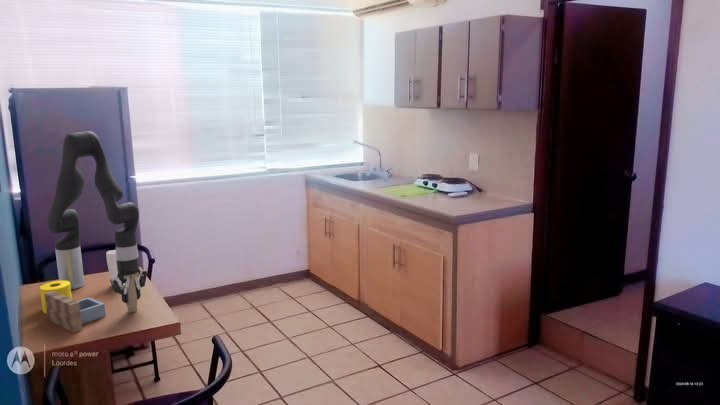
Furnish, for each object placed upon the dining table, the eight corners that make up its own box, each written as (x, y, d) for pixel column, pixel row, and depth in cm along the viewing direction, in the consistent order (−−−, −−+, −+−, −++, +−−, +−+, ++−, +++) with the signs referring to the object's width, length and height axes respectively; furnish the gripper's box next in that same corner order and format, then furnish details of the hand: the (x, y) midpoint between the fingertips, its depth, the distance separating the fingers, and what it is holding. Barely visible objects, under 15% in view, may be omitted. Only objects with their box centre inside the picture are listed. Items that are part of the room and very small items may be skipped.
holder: (60, 319, 190) (59, 306, 189) (90, 309, 198) (89, 297, 197) (75, 326, 184) (74, 313, 183) (105, 316, 192) (104, 303, 191)
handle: (121, 311, 196) (118, 273, 193) (139, 307, 200) (136, 269, 197) (125, 315, 192) (121, 276, 189) (143, 311, 196) (139, 273, 193)
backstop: (47, 319, 189) (44, 293, 187) (56, 316, 192) (53, 290, 190) (73, 332, 178) (70, 305, 176) (82, 329, 181) (79, 302, 179)
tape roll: (43, 315, 192) (39, 291, 191) (42, 306, 201) (39, 283, 199) (73, 310, 198) (70, 286, 196) (72, 301, 206) (69, 278, 204)
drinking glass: (106, 286, 222) (102, 252, 219) (119, 281, 228) (116, 248, 225) (116, 289, 219) (113, 254, 216) (130, 284, 225) (127, 250, 222)
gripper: (139, 250, 200) (143, 293, 203) (103, 259, 188) (107, 304, 192) (150, 253, 195) (154, 297, 199) (114, 263, 184) (118, 309, 187)
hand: (131, 300), depth 195 cm, fingers closed on handle, 4 cm apart
